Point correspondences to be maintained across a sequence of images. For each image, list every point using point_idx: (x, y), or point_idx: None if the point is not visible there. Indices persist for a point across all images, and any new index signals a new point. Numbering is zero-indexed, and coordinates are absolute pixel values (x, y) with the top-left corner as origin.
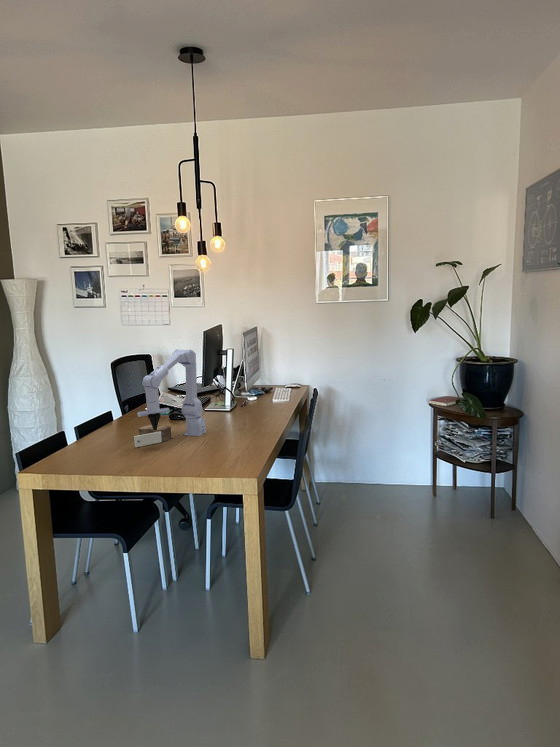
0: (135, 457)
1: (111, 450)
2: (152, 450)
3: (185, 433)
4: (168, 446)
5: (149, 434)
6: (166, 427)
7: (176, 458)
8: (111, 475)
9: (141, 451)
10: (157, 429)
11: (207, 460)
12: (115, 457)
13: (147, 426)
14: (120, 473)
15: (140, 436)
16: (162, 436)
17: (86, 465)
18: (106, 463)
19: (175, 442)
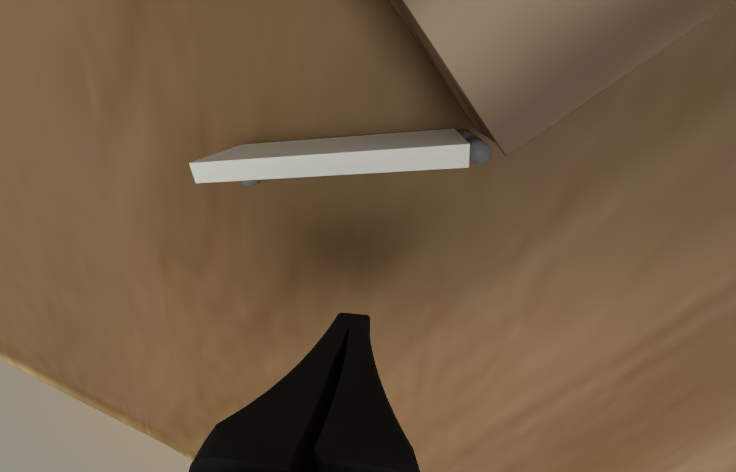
0: (236, 323)
1: (84, 93)
2: (339, 272)
3: None
4: (452, 258)
5: (339, 173)
6: (613, 47)
7: None
8: (150, 434)
9: (276, 249)
10: (464, 81)
11: None
12: (136, 262)
13: None
14: (178, 437)
15: (251, 177)
16: (481, 129)
17: (21, 290)
18: (108, 319)
19: (543, 198)
